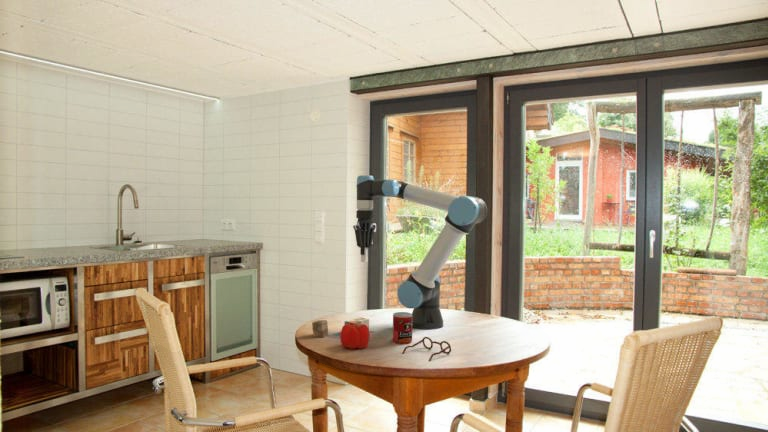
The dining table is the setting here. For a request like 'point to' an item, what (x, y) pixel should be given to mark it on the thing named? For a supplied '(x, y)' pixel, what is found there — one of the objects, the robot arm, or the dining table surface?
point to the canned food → (402, 327)
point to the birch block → (359, 321)
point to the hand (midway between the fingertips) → (364, 262)
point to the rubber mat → (337, 335)
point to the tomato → (354, 336)
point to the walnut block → (320, 328)
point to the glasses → (432, 346)
